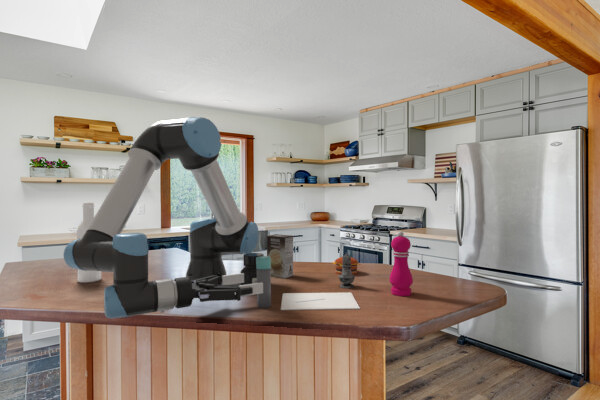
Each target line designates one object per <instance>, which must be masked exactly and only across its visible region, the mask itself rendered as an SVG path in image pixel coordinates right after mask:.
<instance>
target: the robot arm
mask: <svg viewBox="0 0 600 400" xmlns="http://www.w3.org/2000/svg"><path fill="white" fill-rule="evenodd" d="M221 139H222V138H221V134H220V131H219V129H218V127H217V126H216V125H215V123H214V122H213V121H212V120H210V119H208V118H206V117H204V116H203V117H201V116H200V117H197V116H191V117H185V118H175V119H163V120H160V121H159V120H158V121H157V122H154V123H153V124H151V125H150V126H148V127H147V128H146V129H144V131H142V133H141V134H140V135H139V136H138V137H137V139H136V140H135V141H134V142H133V144H132V145H131V147H130V149H129V150H128V153H127V155H128V159H127V161H126V162H125V165H124V167H123V168H122V170H121V171H120V173H119V175H118V177H117V178H116V180H115V181H114V183H113V184H112V187H111V189H110V190H109V192H108V193H107V195H106V196H105V198H104V200H103V201H102V204H101V205H100V207H99V209H98V210H97V212H96V214H94V219H93V220H92V222H91V224H90V226H89V227H88V229H87V231H86V233H85V234H84V236H83V237H82V239H78V240H77V239H74V240H72V241H70V242H68V244H66V246H65V248H64V251H63V259H64V262H65V264H66V265H67V266H68V267H69V268H71V269H75V270H78V269H80V270H84V271H88V270H90V271H101V272H104V273H112V279H113V282H112V283H113V284H111V285H108V286H106V287H104V291H103V294H104V295H103V299H104V300H103V302H104V303H103V304H104V305H103V309H104V315H105V316H104V317H106V318H108V319H119V318H130V317H134V316H139V315H145V314H150V313H151V314H152V313H156V312H160V314H163V313H164V312H165V311H169V310H173V309H174V308H176V309H182V308H183V309H184V308H190V307H192V304H193V300H194V299H198V300H199V302H201V303H203V302H209V301H211V302H213V301H237V302H238V301H239V302H240V301H241V299H242V298H241V297H248V296H253V295H257V294H261V293H263V283H262V282H261V283H254V284H247V285H241V283H244V273H241V272H240V273H233V274H227V269H226V267H225V265H224V260H223V257H222V256H223V254H232V255H233V254H235V255H244V254H247V253H254V250H256V246H257V244H258V241H259V226H258V224H257V223H256V222H253V221H249V220H248V217H247V215H245V213H243V212H241V211H240V210H239V208H238V205H237V204H236V201H235V199H234V196H233V195H232V192H231V190H230V187H229V185H228V183H227V180H226V178H225V175H224V173H223V172H222V169H221V167H220V165H219V162H218V158H219V157H220V151H221V147H222V142H221ZM170 159H172V160H173V159H174V160H175V159H179V162H180V163H181V165H182V167H183V169H184V170H186V171H190V172H191V173H192V175H193V178H194V179H195V181H196V184H197V186H198V188H199V190H200V192H201V194H202V195H203V197H204V200H205V201H206V204H207V205H208V208H209V210H210V212H211V214H212V215H213V217H214V218H208V219H200V220H198V219H197V220H194V221H192V222H191V223H190V224H189V227H190V228H189V254H190V256H189V257H190V259H189V260H190V261H189V262H188V267H187V270H186V273H185V276H182V277H181V276H180V277H174V279H173V278H165V279H158V280H149V250H150V249H149V245H148V236H147V234H145V233H143V232H124V233H123V230H124V228H125V227H126V224H127V222H128V221H129V218H130V217H131V215H132V213H133V212H134V209H135V208H136V206H137V204H138V202H139V201H140V199H141V196H142V195H143V193H144V191H145V189H146V187H147V186H148V183H149V181H150V179H151V178H152V176H153V174H154V172H155V171H157V170H160V168H161V167H162V165H163V163H164V162H166V161H167V160H170ZM237 284H240V285H238V286H228V285H237ZM221 285H222V286H221Z"/></svg>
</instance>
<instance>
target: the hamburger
mask: <svg viewBox="0 0 600 400" xmlns="http://www.w3.org/2000/svg"><path fill="white" fill-rule="evenodd" d="M342 257H343V256H340V257H338V258H336V259H334V261H332V262H331V264H334V267H335V271H334V272H335V274H337V275H341V274H342V264H343V259H342ZM351 265H352V266H351V273H352V275H354V276H355V275H357V274H358V266H362V264H361V263H359V261H358V259H356V258H354V257H352V256H351Z"/></svg>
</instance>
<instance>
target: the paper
mask: <svg viewBox="0 0 600 400" xmlns="http://www.w3.org/2000/svg"><path fill="white" fill-rule="evenodd" d="M360 309H361V307H360V306H359V304H358V302H357V300H356V299H355V297H354V295H353V293H352V292H288V293H287V292H286V293H285V292H283V293H282V297H281V305H280V311H300V310H301V311H304V310H305V311H306V310H307V311H310V310H313V311H315V310H316V311H317V310H321V311H322V310H323V311H324V310H360Z"/></svg>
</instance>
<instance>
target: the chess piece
mask: <svg viewBox="0 0 600 400" xmlns="http://www.w3.org/2000/svg"><path fill="white" fill-rule="evenodd" d="M341 257H342V259H343V264H342V274H341V275H340V274H338V279H339V281H340V284H339V285H338V286H339V288H340V289H354V288H355V287H356V286H355V285H354V284H353V283H354V282H355V277H356V275H355V274H354V275H352V273H351V266H352V265H351V257H352V256H351V255H350V254H348V252H347V251H346V252H345V254H344V255H342V256H341Z"/></svg>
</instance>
